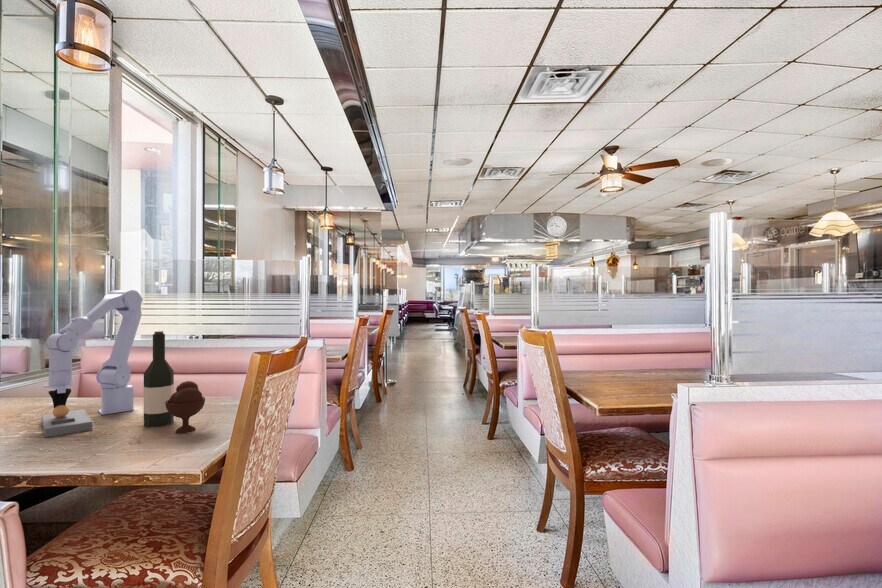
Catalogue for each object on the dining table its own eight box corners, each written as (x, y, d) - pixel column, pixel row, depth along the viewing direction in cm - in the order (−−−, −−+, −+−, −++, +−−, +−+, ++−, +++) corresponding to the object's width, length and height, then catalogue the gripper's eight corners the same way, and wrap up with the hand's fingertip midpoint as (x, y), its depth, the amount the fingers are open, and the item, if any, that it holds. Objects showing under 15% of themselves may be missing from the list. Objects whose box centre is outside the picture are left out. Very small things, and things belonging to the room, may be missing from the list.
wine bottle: (145, 429, 140) (145, 332, 141) (142, 423, 147) (142, 331, 147) (175, 424, 146) (175, 331, 146) (171, 418, 152) (171, 330, 152)
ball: (68, 408, 149) (67, 401, 146) (69, 418, 147) (69, 411, 144) (52, 411, 146) (51, 404, 144) (53, 421, 144) (52, 414, 142)
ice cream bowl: (159, 431, 138) (159, 382, 138) (198, 423, 146) (198, 377, 146) (170, 438, 131) (170, 387, 131) (211, 430, 139) (211, 381, 139)
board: (84, 416, 156) (84, 409, 156) (92, 429, 140) (92, 421, 140) (41, 422, 148) (41, 414, 148) (45, 437, 132) (45, 428, 132)
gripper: (43, 368, 149) (42, 410, 149) (45, 374, 138) (43, 418, 138) (70, 366, 154) (69, 406, 153) (74, 372, 143) (73, 414, 143)
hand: (59, 412), depth 146 cm, fingers closed, pressing on ball
